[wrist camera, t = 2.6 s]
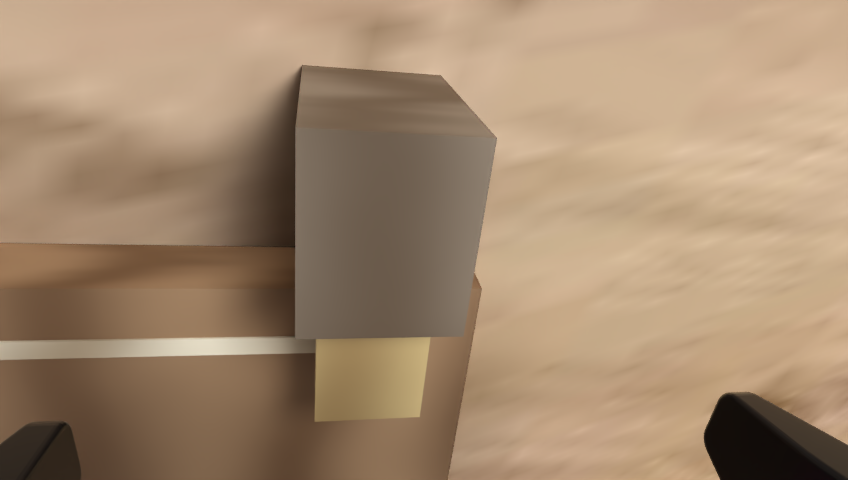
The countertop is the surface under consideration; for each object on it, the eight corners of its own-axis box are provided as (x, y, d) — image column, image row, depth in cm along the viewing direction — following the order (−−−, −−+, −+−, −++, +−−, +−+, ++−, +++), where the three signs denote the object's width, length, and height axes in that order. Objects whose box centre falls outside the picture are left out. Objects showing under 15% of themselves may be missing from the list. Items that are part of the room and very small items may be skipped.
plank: (463, 249, 20) (482, 289, 17) (431, 454, 24) (443, 508, 22) (-370, 238, 15) (-489, 290, 13) (-217, 493, 20) (-285, 564, 17)
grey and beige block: (440, 75, 17) (496, 138, 12) (412, 319, 21) (444, 448, 16) (302, 65, 16) (295, 127, 11) (300, 320, 20) (294, 457, 15)
